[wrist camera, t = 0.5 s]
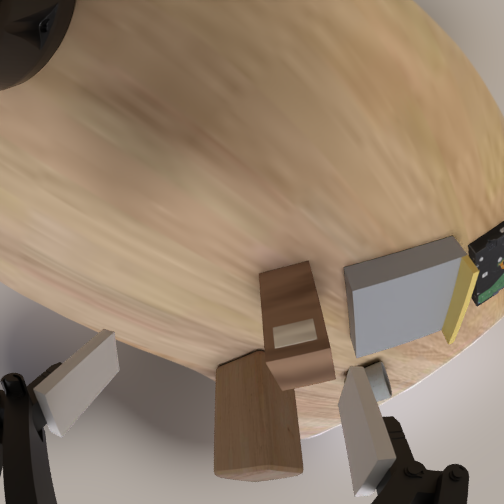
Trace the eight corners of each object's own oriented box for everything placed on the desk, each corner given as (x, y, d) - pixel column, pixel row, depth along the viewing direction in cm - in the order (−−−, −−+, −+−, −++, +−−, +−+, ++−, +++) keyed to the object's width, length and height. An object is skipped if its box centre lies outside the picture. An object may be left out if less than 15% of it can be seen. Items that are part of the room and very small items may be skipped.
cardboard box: (258, 272, 35) (265, 361, 26) (308, 260, 34) (330, 347, 25) (273, 310, 40) (282, 391, 30) (317, 299, 39) (335, 379, 29)
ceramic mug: (339, 371, 52) (346, 407, 46) (378, 355, 50) (388, 390, 44) (355, 386, 58) (362, 416, 52) (389, 372, 55) (398, 402, 49)
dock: (343, 267, 35) (359, 311, 30) (452, 235, 33) (479, 271, 27) (350, 337, 45) (360, 374, 39) (437, 309, 42) (453, 342, 37)
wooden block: (293, 368, 50) (306, 474, 35) (249, 385, 54) (253, 482, 38) (261, 346, 45) (269, 471, 29) (213, 366, 49) (211, 477, 33)
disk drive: (464, 242, 34) (470, 297, 42) (474, 255, 32) (477, 308, 40) (512, 210, 31) (510, 269, 38) (522, 220, 29) (518, 279, 36)
